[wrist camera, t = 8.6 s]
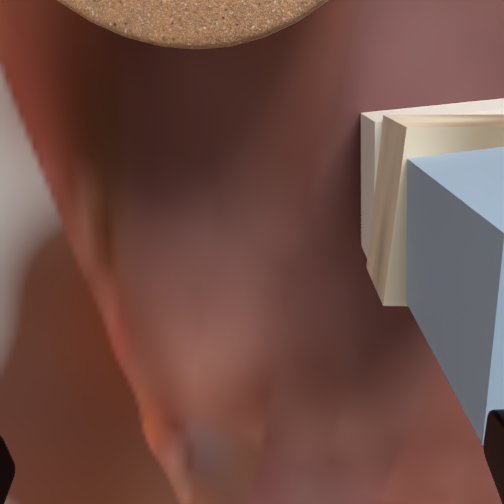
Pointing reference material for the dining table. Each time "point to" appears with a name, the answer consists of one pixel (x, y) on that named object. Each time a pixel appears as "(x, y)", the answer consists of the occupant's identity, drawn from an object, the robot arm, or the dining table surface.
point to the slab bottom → (371, 145)
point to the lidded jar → (194, 19)
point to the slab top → (395, 184)
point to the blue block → (460, 271)
